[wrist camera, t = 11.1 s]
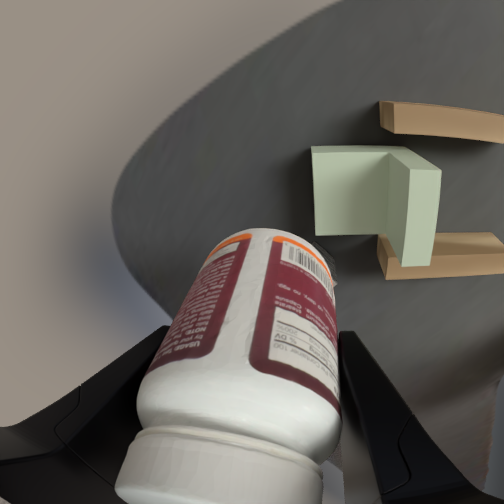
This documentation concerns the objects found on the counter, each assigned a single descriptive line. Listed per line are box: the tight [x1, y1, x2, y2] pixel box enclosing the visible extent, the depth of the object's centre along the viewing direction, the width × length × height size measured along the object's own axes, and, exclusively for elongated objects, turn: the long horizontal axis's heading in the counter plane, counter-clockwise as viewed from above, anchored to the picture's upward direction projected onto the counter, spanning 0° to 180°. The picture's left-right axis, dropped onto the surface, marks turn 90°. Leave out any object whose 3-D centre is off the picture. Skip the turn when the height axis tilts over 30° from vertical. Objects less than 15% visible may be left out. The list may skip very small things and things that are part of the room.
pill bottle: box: [115, 228, 343, 504], centre depth 8 cm, size 5×5×8 cm
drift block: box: [311, 145, 442, 267], centre depth 15 cm, size 5×6×6 cm
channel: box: [377, 101, 504, 280], centre depth 15 cm, size 10×9×3 cm
